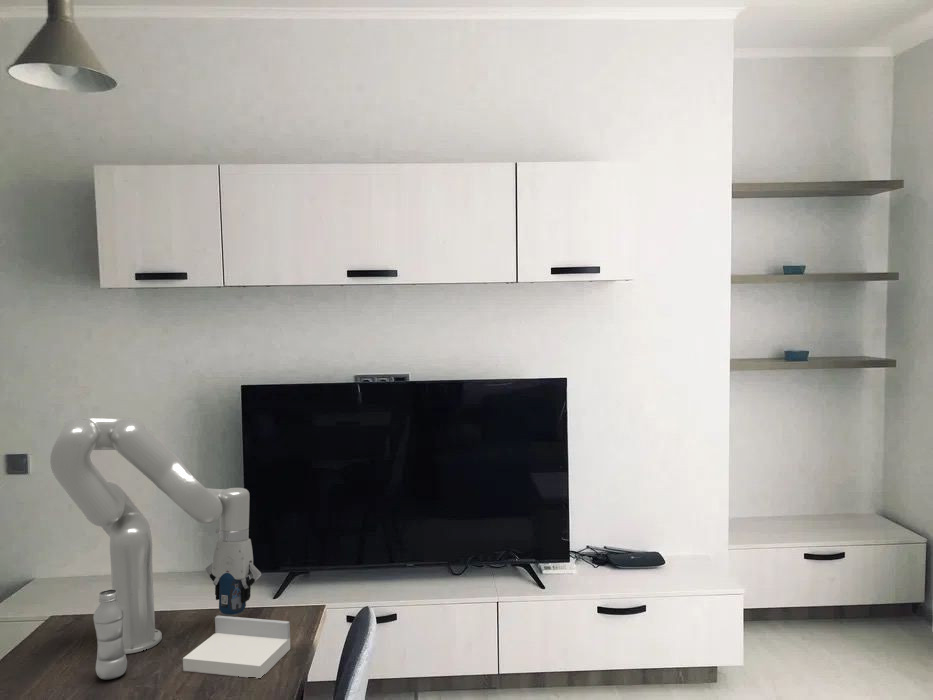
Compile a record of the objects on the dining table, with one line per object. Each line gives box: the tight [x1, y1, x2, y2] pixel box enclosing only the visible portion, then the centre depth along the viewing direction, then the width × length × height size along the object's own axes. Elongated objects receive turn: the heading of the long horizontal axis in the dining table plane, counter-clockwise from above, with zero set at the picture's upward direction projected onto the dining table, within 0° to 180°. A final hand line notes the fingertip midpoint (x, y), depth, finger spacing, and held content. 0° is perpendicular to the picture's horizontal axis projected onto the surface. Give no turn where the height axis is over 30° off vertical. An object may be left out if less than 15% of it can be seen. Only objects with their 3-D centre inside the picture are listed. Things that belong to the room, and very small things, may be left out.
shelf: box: [182, 615, 291, 679], centre depth 175 cm, size 20×15×7 cm
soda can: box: [218, 571, 247, 617], centre depth 195 cm, size 7×7×12 cm
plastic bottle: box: [92, 588, 128, 680], centre depth 167 cm, size 6×7×20 cm
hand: (232, 599), depth 195 cm, fingers closed on soda can, 7 cm apart
